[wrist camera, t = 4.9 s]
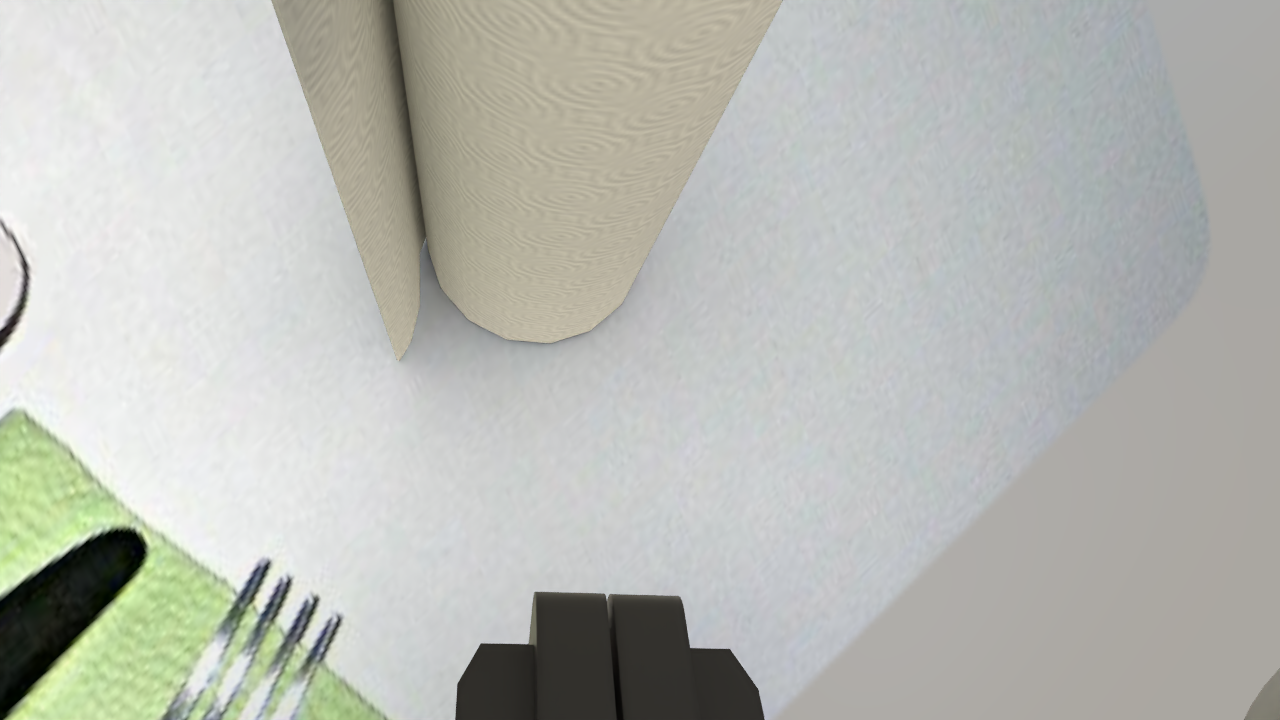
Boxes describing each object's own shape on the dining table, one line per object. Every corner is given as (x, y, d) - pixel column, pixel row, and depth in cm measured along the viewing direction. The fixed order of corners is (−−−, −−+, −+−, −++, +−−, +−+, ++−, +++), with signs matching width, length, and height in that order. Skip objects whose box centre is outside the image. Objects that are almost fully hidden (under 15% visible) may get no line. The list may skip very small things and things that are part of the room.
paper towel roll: (625, 133, 35) (853, -537, 14) (654, 335, 34) (944, -64, 13) (375, 153, 34) (215, -544, 13) (397, 362, 33) (261, -24, 12)
